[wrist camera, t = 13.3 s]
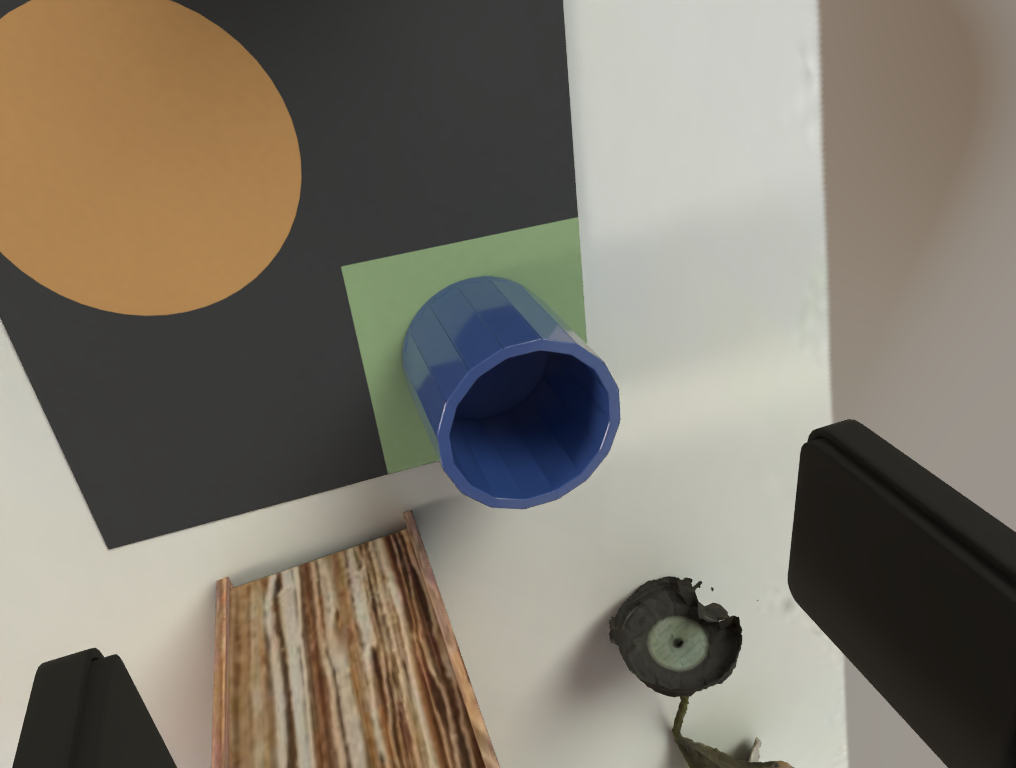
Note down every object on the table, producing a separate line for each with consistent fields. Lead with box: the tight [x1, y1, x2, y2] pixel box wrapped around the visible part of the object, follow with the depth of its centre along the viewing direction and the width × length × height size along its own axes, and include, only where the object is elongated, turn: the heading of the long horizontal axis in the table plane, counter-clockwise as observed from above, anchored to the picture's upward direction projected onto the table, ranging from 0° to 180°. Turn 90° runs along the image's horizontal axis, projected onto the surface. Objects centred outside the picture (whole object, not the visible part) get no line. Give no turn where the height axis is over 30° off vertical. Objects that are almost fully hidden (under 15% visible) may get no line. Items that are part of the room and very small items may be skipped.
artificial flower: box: [609, 577, 794, 768], centre depth 47 cm, size 9×22×10 cm, turn 17°
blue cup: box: [402, 276, 620, 509], centre depth 31 cm, size 7×7×7 cm
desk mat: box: [0, 0, 587, 549], centre depth 30 cm, size 22×22×1 cm
